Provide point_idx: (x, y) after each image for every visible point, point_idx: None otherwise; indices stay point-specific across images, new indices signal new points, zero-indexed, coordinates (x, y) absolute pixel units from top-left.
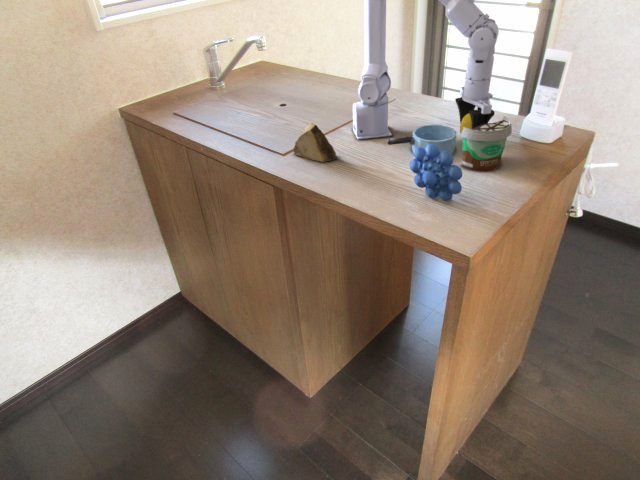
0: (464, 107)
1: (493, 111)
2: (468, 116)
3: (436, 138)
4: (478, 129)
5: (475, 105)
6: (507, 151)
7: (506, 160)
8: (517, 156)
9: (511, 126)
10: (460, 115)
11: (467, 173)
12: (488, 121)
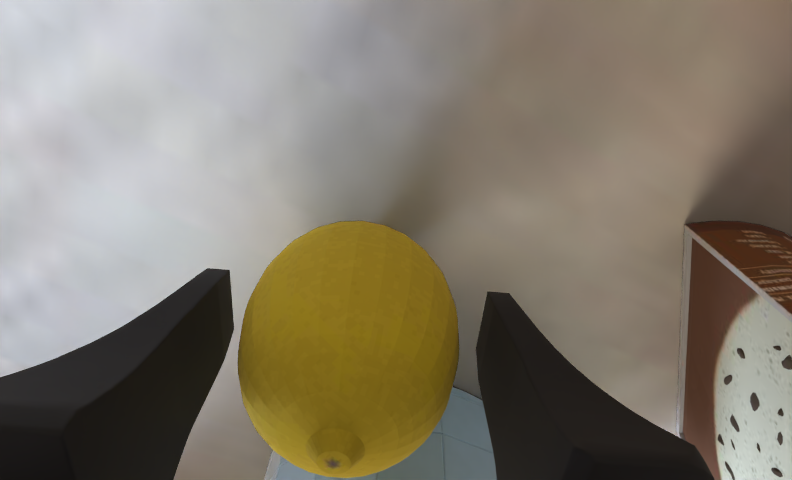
0: (152, 477)
1: (675, 475)
2: (360, 476)
3: None
4: None
5: (126, 382)
6: (657, 66)
7: (784, 162)
8: (789, 37)
9: None
10: (188, 425)
11: None
12: (607, 397)
